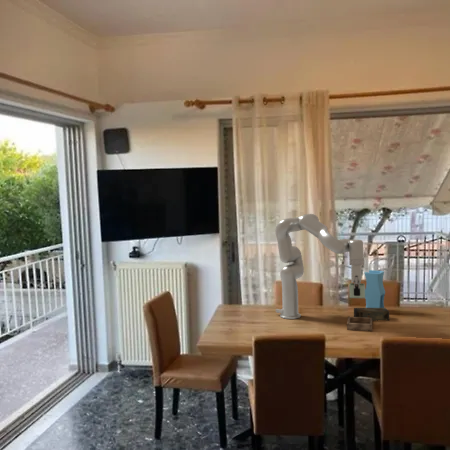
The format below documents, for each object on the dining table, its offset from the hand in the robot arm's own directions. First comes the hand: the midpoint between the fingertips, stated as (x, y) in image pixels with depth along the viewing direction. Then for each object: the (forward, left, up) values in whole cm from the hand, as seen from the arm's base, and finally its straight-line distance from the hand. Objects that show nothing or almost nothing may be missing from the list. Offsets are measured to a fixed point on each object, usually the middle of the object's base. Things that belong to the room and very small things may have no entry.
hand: (357, 293), depth 251 cm
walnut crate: (+1, 0, -18) cm, 18 cm away
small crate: (0, 0, -2) cm, 2 cm away
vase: (+9, +36, -19) cm, 41 cm away
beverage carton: (+7, +18, -19) cm, 27 cm away
